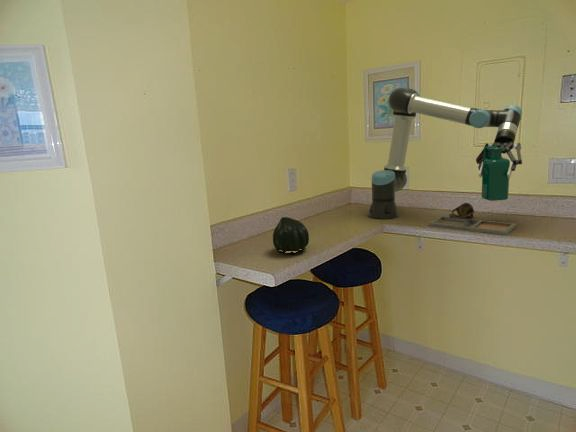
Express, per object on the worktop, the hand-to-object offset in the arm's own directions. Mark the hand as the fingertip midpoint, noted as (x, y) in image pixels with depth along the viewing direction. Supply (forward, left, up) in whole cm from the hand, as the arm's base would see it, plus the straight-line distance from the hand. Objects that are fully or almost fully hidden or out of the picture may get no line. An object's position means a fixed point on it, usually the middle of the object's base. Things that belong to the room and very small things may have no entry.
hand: (494, 175), depth 162 cm
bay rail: (-9, +3, -24) cm, 25 cm away
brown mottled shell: (-18, +17, -24) cm, 35 cm away
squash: (-56, -67, -24) cm, 91 cm away
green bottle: (0, +3, -10) cm, 11 cm away
